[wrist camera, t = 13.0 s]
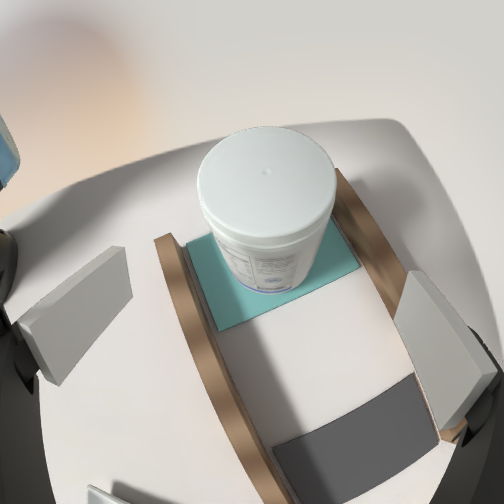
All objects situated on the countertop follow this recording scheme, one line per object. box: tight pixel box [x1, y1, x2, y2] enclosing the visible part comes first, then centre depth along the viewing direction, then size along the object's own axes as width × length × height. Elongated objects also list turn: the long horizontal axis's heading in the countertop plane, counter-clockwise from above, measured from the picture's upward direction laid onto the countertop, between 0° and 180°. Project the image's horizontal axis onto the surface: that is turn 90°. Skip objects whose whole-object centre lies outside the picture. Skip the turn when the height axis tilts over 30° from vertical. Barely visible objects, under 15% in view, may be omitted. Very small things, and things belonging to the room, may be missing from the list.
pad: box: [186, 217, 360, 332], centre depth 31 cm, size 11×17×1 cm, turn 113°
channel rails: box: [154, 168, 467, 504], centre depth 25 cm, size 36×22×4 cm, turn 23°
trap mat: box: [273, 374, 439, 504], centre depth 22 cm, size 11×17×1 cm, turn 113°
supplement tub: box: [197, 127, 337, 295], centre depth 24 cm, size 10×10×15 cm
